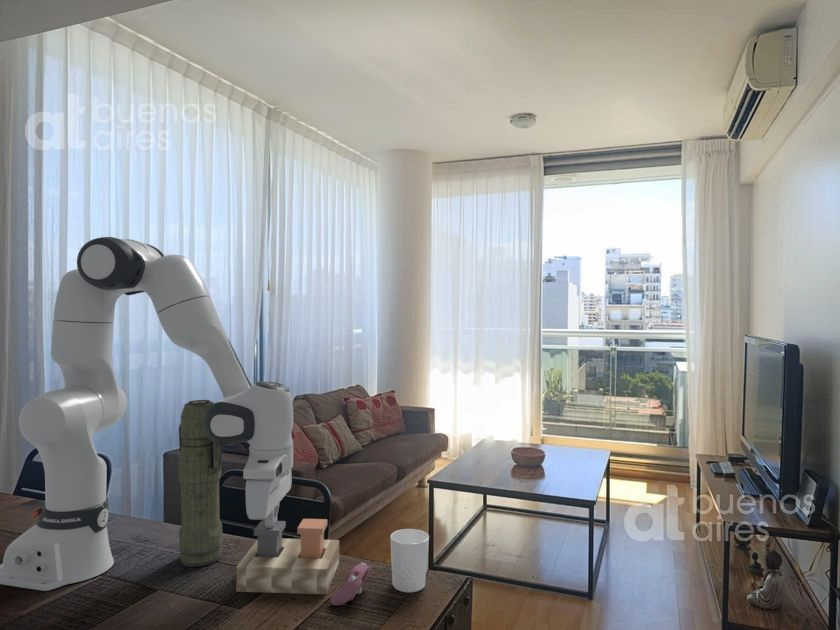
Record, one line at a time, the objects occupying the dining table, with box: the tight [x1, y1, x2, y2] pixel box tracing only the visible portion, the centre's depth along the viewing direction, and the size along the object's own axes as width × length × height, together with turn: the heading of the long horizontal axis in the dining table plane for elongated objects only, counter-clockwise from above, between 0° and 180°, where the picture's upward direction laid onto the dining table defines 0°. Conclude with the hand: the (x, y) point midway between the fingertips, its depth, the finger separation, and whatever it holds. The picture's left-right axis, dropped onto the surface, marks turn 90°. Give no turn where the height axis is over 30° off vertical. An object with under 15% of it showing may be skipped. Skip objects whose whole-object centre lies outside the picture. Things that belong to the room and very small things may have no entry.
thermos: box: [178, 399, 223, 568], centre depth 125 cm, size 9×12×35 cm
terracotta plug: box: [296, 518, 328, 559], centre depth 117 cm, size 5×5×7 cm
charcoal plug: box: [253, 520, 287, 557], centre depth 117 cm, size 5×5×7 cm
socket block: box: [235, 537, 340, 595], centre depth 117 cm, size 18×14×5 cm
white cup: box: [390, 528, 430, 593], centre depth 114 cm, size 8×8×10 cm
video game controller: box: [330, 561, 372, 607], centre depth 110 cm, size 10×5×7 cm, turn 169°
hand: (271, 525), depth 117 cm, fingers closed, pressing on charcoal plug
